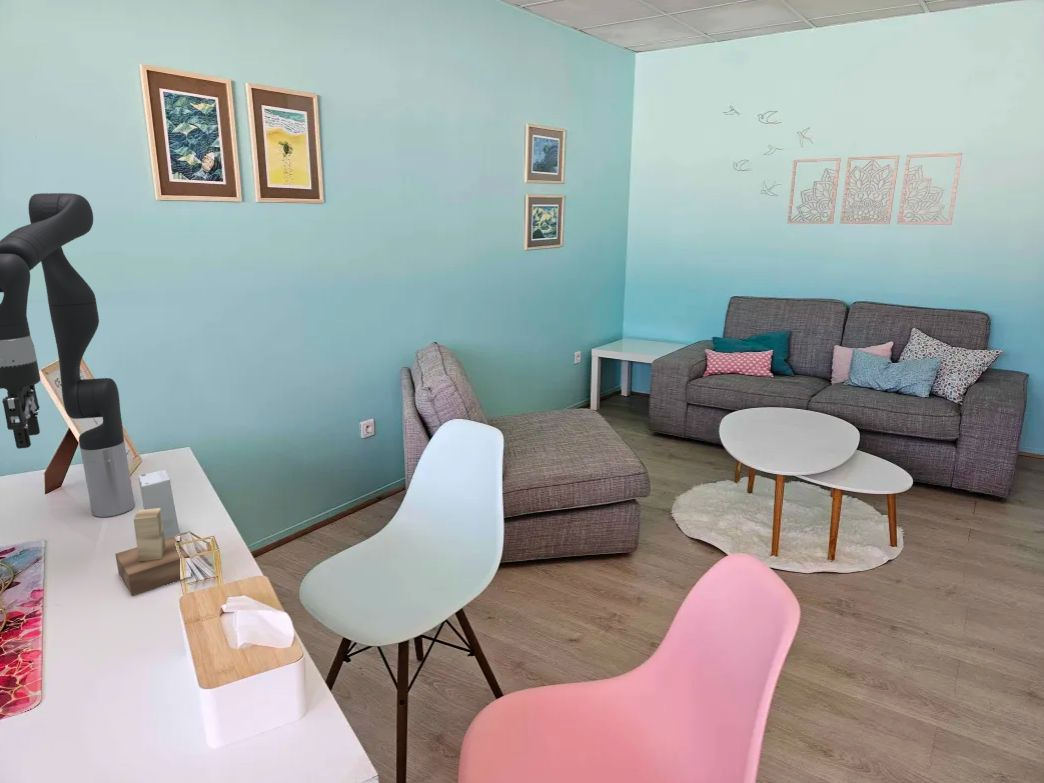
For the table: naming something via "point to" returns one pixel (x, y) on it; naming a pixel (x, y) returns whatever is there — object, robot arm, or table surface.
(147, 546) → the oak post
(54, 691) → the table surface
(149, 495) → the skincare box
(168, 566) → the walnut block
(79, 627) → the table surface
